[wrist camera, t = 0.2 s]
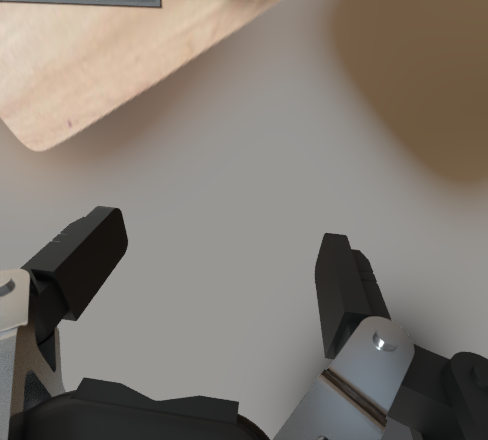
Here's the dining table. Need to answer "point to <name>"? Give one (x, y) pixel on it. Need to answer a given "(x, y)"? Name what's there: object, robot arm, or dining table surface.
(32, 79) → the dining table surface
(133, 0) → the board
